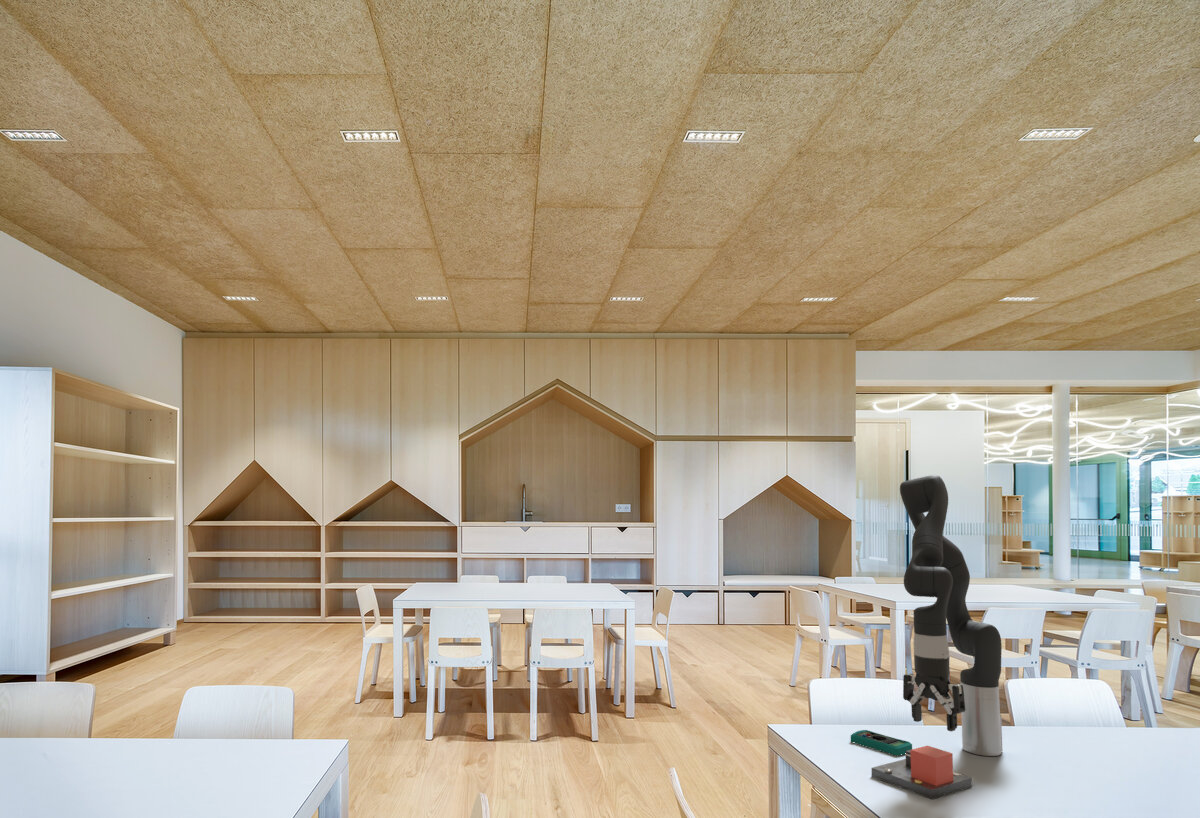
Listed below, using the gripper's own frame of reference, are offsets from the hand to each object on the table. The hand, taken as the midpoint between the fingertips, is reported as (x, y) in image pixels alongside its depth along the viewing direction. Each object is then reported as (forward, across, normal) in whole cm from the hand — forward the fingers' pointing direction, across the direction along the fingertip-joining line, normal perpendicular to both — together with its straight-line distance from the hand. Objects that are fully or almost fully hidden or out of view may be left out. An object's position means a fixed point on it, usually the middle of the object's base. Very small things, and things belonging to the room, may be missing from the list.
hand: (934, 725), depth 178 cm
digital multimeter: (+15, -26, +15) cm, 33 cm away
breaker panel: (+14, -5, +1) cm, 15 cm away
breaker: (+12, -9, +4) cm, 15 cm away
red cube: (+12, -1, 0) cm, 12 cm away
